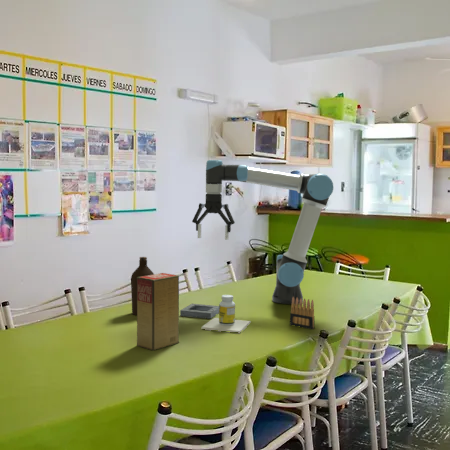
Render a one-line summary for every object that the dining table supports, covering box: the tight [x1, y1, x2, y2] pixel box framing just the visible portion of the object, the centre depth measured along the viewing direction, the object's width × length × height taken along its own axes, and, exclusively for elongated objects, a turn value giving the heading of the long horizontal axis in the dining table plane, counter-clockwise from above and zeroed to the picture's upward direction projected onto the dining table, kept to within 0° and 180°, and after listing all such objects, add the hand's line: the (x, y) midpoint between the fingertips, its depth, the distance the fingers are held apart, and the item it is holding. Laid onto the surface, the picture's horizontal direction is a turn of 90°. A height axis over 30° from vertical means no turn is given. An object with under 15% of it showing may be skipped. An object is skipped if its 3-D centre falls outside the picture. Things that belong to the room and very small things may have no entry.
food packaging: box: [136, 272, 180, 351], centre depth 202 cm, size 13×9×25 cm
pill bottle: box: [218, 294, 236, 326], centre depth 229 cm, size 6×6×12 cm
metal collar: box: [179, 303, 219, 320], centre depth 249 cm, size 14×14×2 cm
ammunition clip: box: [289, 297, 316, 330], centre depth 230 cm, size 11×2×12 cm, turn 54°
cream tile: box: [201, 317, 252, 334], centre depth 229 cm, size 16×16×1 cm
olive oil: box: [130, 256, 155, 316], centre depth 247 cm, size 11×11×25 cm
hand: (213, 238), depth 264 cm, fingers open, 13 cm apart
